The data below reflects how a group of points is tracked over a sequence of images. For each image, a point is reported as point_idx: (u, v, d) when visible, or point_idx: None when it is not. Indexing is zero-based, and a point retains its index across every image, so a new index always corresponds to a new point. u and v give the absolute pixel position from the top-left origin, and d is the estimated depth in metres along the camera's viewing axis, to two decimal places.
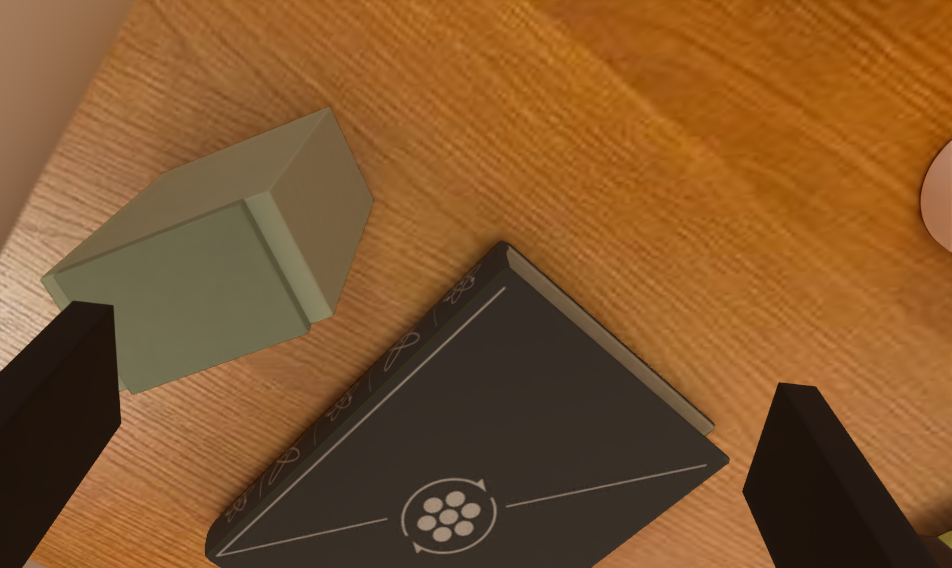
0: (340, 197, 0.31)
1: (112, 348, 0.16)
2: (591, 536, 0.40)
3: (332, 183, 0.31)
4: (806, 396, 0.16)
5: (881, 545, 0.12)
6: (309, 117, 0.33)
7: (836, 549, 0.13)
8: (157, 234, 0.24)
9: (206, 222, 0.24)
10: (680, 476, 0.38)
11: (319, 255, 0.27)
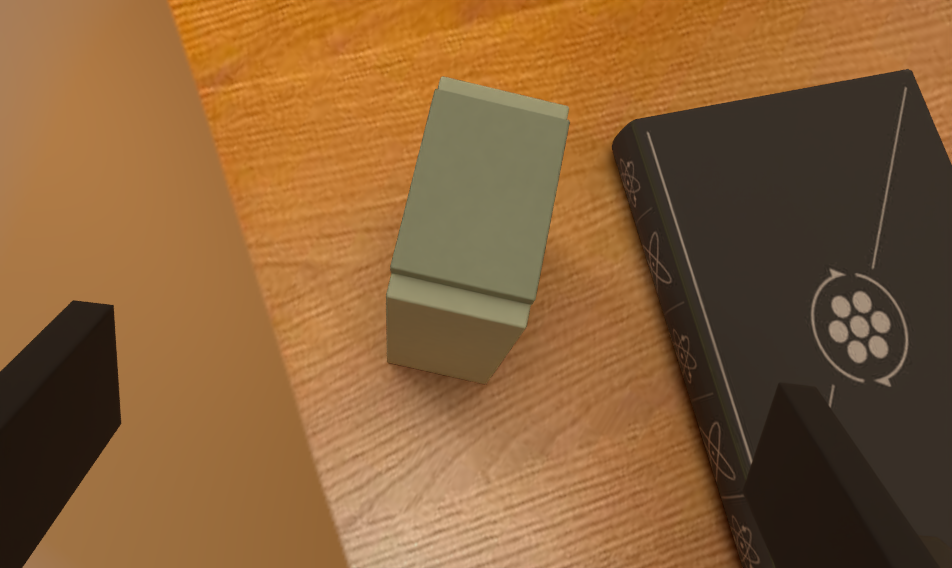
0: None
1: (113, 347, 0.16)
2: (944, 218, 0.37)
3: None
4: (806, 396, 0.16)
5: (881, 545, 0.12)
6: None
7: (836, 549, 0.13)
8: (416, 163, 0.26)
9: (432, 119, 0.27)
10: (908, 112, 0.39)
11: None
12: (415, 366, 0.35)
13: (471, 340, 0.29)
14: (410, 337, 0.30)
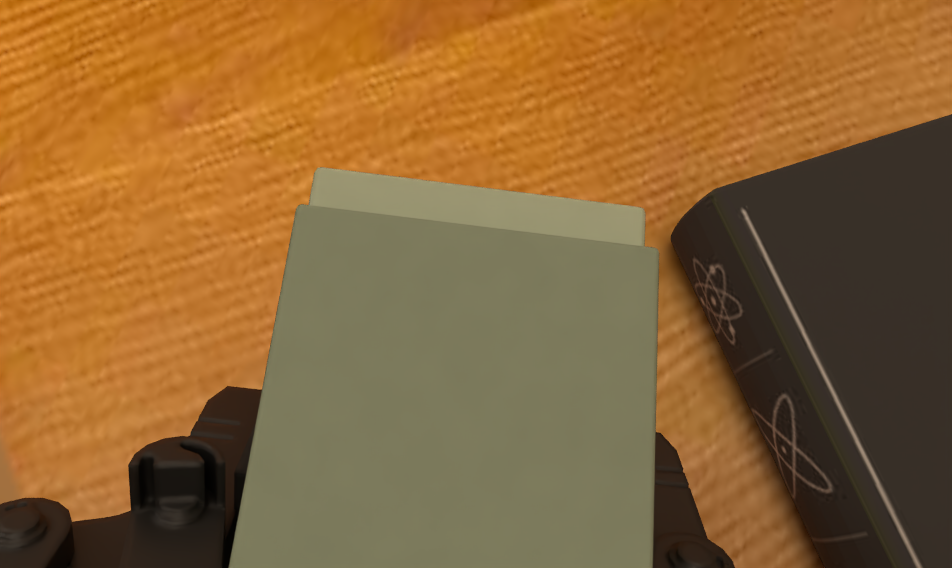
0: None
1: None
2: None
3: None
4: None
5: None
6: None
7: None
8: (256, 424, 0.09)
9: (294, 291, 0.10)
10: None
11: None
12: None
13: None
14: None
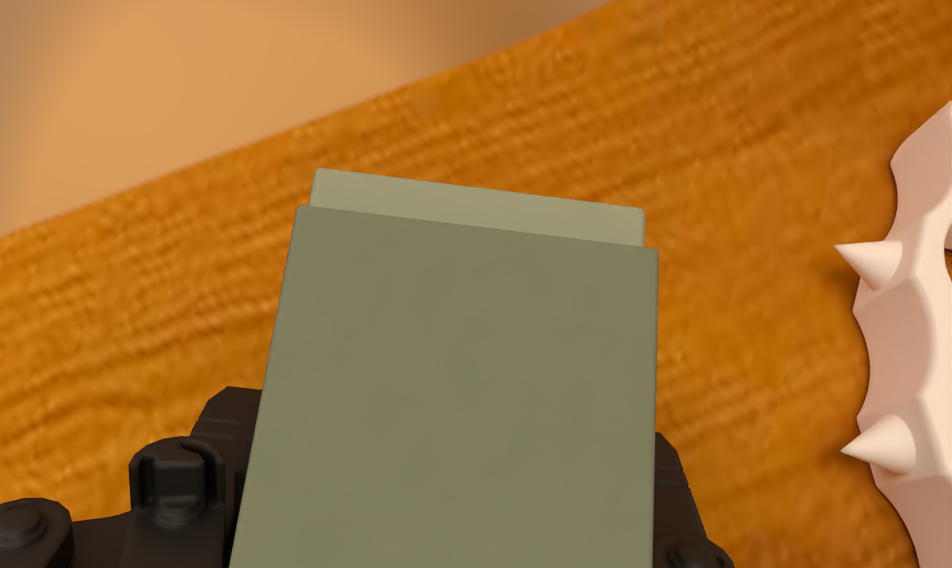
0: None
1: None
2: None
3: None
4: None
5: None
6: None
7: None
8: (256, 424, 0.09)
9: (294, 292, 0.10)
10: None
11: None
12: None
13: None
14: None
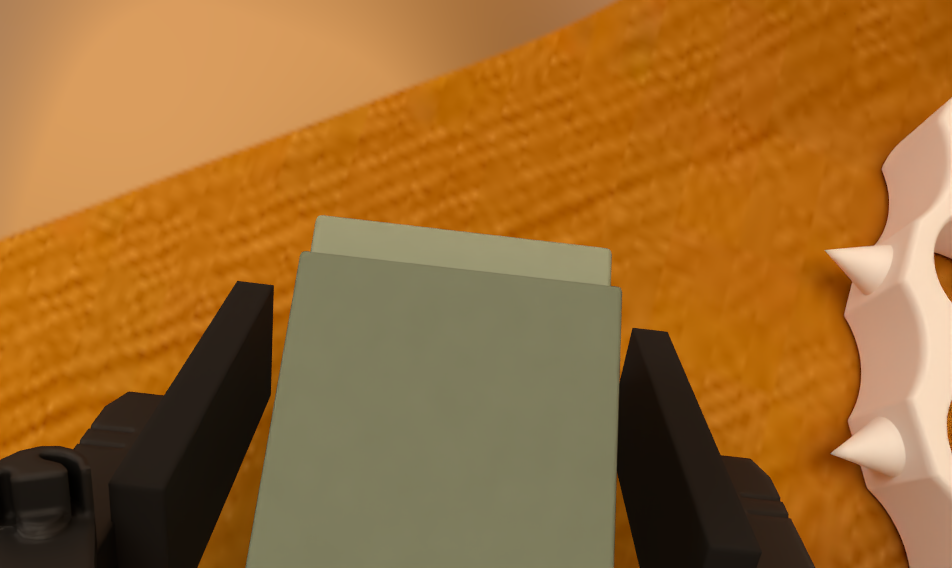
0: None
1: (271, 324, 0.17)
2: None
3: None
4: (655, 339, 0.17)
5: (680, 458, 0.13)
6: None
7: (656, 469, 0.15)
8: (267, 447, 0.11)
9: (299, 329, 0.11)
10: None
11: None
12: None
13: None
14: None
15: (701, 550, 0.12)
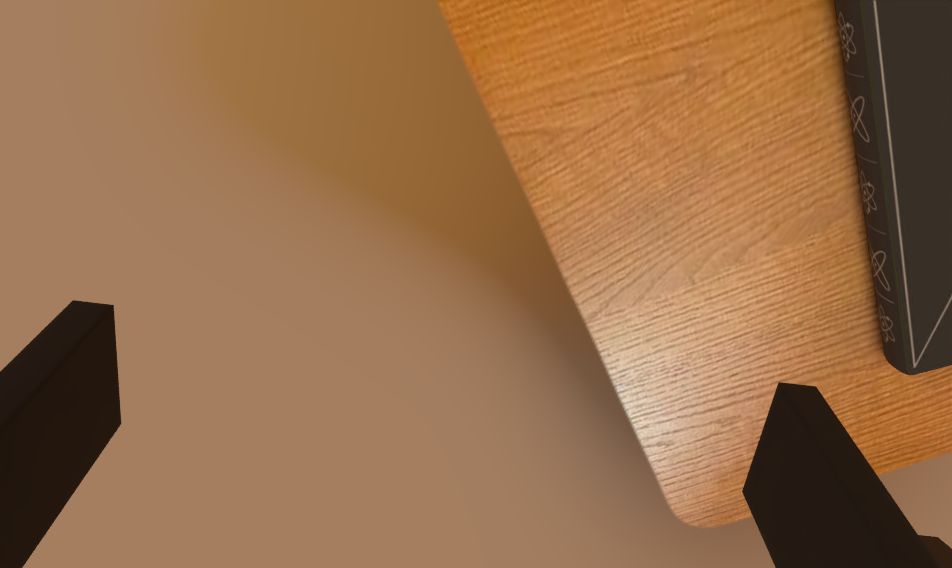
0: None
1: (112, 347, 0.16)
2: None
3: None
4: (806, 396, 0.16)
5: (881, 545, 0.12)
6: None
7: (836, 549, 0.13)
8: None
9: None
10: None
11: None
12: None
13: None
14: None
15: None
